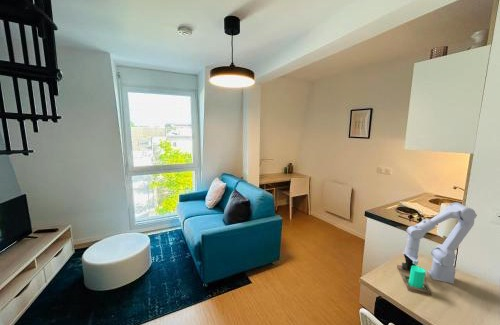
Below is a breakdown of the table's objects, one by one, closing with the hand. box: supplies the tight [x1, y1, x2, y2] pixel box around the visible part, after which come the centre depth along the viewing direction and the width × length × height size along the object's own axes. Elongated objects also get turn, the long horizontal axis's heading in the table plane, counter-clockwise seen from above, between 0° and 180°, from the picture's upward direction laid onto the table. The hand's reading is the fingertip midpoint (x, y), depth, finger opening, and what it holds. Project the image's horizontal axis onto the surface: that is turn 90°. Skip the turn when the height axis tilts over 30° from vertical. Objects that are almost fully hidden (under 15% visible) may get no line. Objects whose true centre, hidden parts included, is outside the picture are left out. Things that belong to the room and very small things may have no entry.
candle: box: [408, 265, 427, 289], centre depth 111 cm, size 6×6×12 cm
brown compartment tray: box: [396, 261, 433, 297], centre depth 117 cm, size 20×10×5 cm, turn 159°
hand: (409, 268), depth 123 cm, fingers closed on brown compartment tray
